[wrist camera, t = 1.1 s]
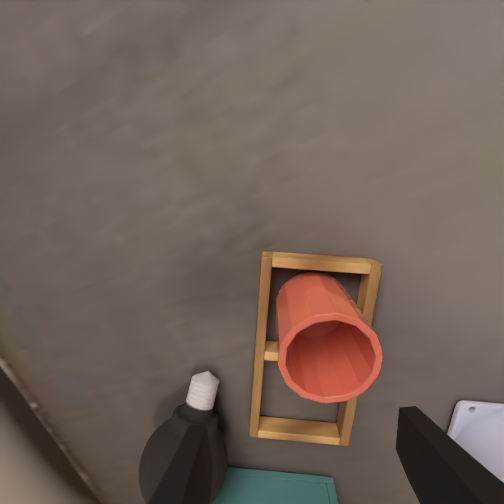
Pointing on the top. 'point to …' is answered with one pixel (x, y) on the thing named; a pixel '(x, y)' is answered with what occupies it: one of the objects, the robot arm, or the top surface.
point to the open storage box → (275, 488)
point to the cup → (324, 340)
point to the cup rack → (268, 349)
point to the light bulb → (173, 431)
